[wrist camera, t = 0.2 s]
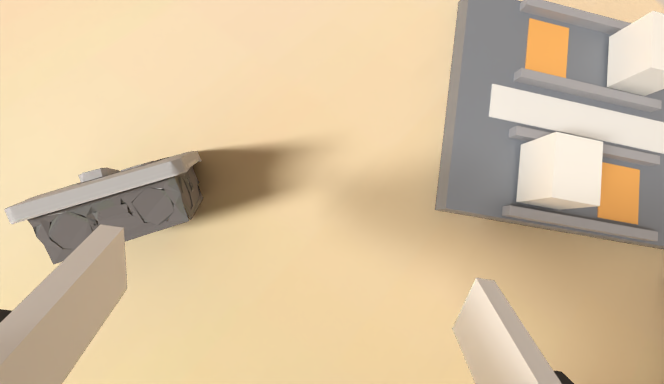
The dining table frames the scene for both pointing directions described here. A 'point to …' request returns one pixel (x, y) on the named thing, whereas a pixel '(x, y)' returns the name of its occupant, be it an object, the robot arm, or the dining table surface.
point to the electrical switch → (113, 203)
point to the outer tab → (638, 56)
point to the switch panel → (547, 119)
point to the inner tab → (560, 172)
